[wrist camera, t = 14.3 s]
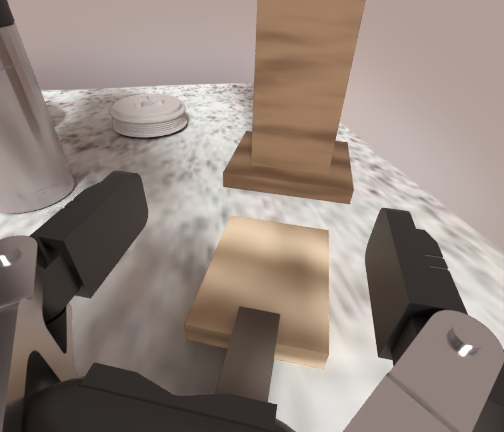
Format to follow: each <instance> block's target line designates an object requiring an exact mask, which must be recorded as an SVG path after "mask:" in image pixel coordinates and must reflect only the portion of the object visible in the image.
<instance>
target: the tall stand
mask: <svg viewBox="0 0 504 432" xmlns="http://www.w3.org/2000/svg"><path fill="white" fill-rule="evenodd" d="M365 1H366V0H258V1H257V24H256V50H255V53H256V54H255V77H254V103H253V129H252V132H250V131H246V132H245V134H244V136H243V138H242V140H241V141H240V143H239V145H238V147H237V149H236V150H235V152H234V154H233V156H232V158H231V159H230V161H229V163H228V165H227V167H226V169H225V170H224V172H223V187H230V188H237V189H245V190H252V191H259V192H267V193H274V194H281V195H288V196H296V197H303V198H310V199H317V200H325V201H332V202H339V203H347V204H350V201H351V198H352V194H353V191H354V189H353V181H352V174H351V166H350V158H349V150H348V143H347V142H340V141H335V140H336V135H337V130H338V126H339V121H340V117H341V111H342V107H343V103H344V98H345V93H346V89H347V84H348V80H349V75H350V70H351V65H352V61H353V56H354V51H355V47H356V42H357V38H358V33H359V29H360V24H361V19H362V15H363V10H364V5H365Z"/></svg>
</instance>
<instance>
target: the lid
mask: <svg viewBox="0 0 504 432" xmlns="http://www.w3.org/2000/svg"><path fill="white" fill-rule="evenodd" d="M185 111H186V106H185V104H184V103H182V102H181V101H180V100H179V99H177V98H175V97H172V96H169V95H163V94H140V95H133V96H129V97H125V98H122V99H120V100H118V101H116V102H115V103H114V104H113V106H112V107H110V109H109V114H110V116H111V117H112V119H113V123H112V126H113V129H114V130H115V131H116V132H118V133H120V134H123V135H126V136H132V137H156V136H163V135H167V134H171V133H174V132H176V131H179V130H181V129H182V128H184V127H185V126H186V124H187V118H186V117H185Z"/></svg>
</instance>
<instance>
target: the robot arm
mask: <svg viewBox="0 0 504 432" xmlns="http://www.w3.org/2000/svg"><path fill="white" fill-rule="evenodd" d="M74 185H75V184H74V179H73V176H72V173H71V171H70V168H69V165H68V163H67V160H66V157H65V155H64V152H63V149H62V146H61V144H60V141H59V138H58V136H57V133H56V130H55V128H54V125H53V122H52V120H51V117H50V114H49V112H48V109H47V106H46V104H45V101H44V98H43V96H42V93H41V90H40V88H39V85H38V82H37V80H36V77H35V74H34V72H33V69H32V66H31V64H30V61H29V58H28V56H27V53H26V51H25V48H24V45H23V43H22V40H21V37H20V35H19V32H18V30H17V27H16V24H15V23H14V18H13V16H12V13H11V11H10V8H9V5H8V2H7V0H0V213H8V214H11V213H23V212H29V211H34V210H38V209H41V208H44V207H47V206H49V205H52V204H54V203H56V202H58V201H59V200H61V199H63V198H64V197H65V196H67V195H68V194H69V193H70V192H71V191H72V189H73V187H74ZM147 219H148V207H147V203H146V198H145V194H144V189H143V184H142V180H141V177H140V175H139V174H137V173H131V172H124V171H113V172H112V173H111V174H109V175H108V176H107V177H106V178H105V179H104V180H103V181H101V182H100V183H97V184H95V185H93V186H91V187H89V188H87V189H85V190H83V191H82V192H81V193H80V194H79V195H77V196H76V197H75V198H74V200H73V201H70V202H69V203H68V204H67V205H66V206H65V208H64V209H63V208H62V209H61V210H60V211H59V212H57V213H56V214H55V215H54V216H53V217H51V218H50V219H49V220H48V221H47V222H46V223H44V224H43V225H42V226H41V227H40V228H38V229H37V230H36V231H35V232H34V233H33V234H31V235H30V236H12V237H7V238H4V239H1V240H0V432H295V431H294V430H293V429H291V428H290V427H289V426H287V425H286V424H285V423H283V422H281V421H279V420H278V419H276V410H277V404H272V403H268V402H264V401H259V400H255V399H251V398H246V397H242V396H238V395H233V394H213V395H196V396H176V395H173V394H171V393H170V392H168V391H167V390H165V389H163V388H162V387H160V386H158V385H157V384H155V383H153V382H152V381H150V380H148V379H147V378H145V377H143V376H142V375H140V374H138V373H137V372H133V371H129V370H124V369H120V368H115V367H111V366H107V365H102V364H98V363H93V365H92V366H91V368H90V370H89V371H88V373H87V375H86V376H84V377H78V375H77V372H76V370H75V366H74V360H73V331H72V307H71V305H70V303H69V302H70V300H71V299H72V298H73V297H74V295H76V296H81V297H86V298H91V297H92V296H93V295H94V293H95V292H96V291H97V289H98V288H99V287H100V285H101V284H102V283H103V281H104V280H105V279H106V277H107V276H108V275H109V273H110V272H111V271H112V269H113V268H114V267H115V265H116V264H117V263H118V261H119V260H120V259H121V257H122V256H123V255H124V253H125V252H126V251H127V249H128V248H129V247H130V245H131V244H132V243H133V241H134V240H135V239H136V237H137V236H138V235H139V234H140V232H141V231H142V230H143V228H144V227H145V225H146V223H147ZM365 265H366V272H367V280H368V287H369V294H370V301H371V309H372V316H373V323H374V330H375V338H376V345H377V352H378V357H380V358H385V359H390V360H393V366H394V367H393V368H392V370H391V371H390V372H389V373H387V375H386V376H385V377H384V378H383V380H382V381H381V382H380V383H379V385H378V386H377V387H376V389H375V390H374V391H373V393H372V394H371V395H370V397H369V398H368V399H367V401H366V402H365V403H364V404H363V406H362V407H361V408H360V410H359V411H358V412H357V414H356V415H355V416H354V418H353V419H352V420H351V422H350V423H349V424H348V426H347V427H346V428H345V430H344V431H343V432H504V350H503V348H502V346H501V344H500V342H499V340H498V339H497V338H496V336H495V335H494V334H493V333H492V332H491V331H490V330H489V329H488V328H487V327H486V326H485V325H484V324H482V323H481V322H479V321H478V320H476V319H475V318H473V317H471V316H469V315H468V314H467V311H466V309H465V307H464V304H463V302H462V300H461V297H460V295H459V293H458V290H457V288H456V286H455V283H454V281H453V279H452V276H451V274H450V272H449V271H448V270H447V269H448V267H447V265H446V262H445V260H444V259H443V255H442V253H441V250H440V248H439V246H438V243H437V242H436V241H435V240H434V239H433V238H432V237H431V236H430V235H429V234H428V233H427V232H426V231H425V230H421V229H416V227H415V225H414V222H413V219H412V217H411V214H410V212H409V211H404V210H396V209H389V208H382V209H381V210H380V212H379V214H378V217H377V220H376V222H375V225H374V228H373V230H372V233H371V236H370V239H369V241H368V244H367V248H366V254H365Z"/></svg>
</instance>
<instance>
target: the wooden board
mask: <svg viewBox="0 0 504 432" xmlns="http://www.w3.org/2000/svg"><path fill="white" fill-rule="evenodd" d="M184 327H185V332H186V338H187V340H189V341H193V342H198V343H203V344H207V345H212V346H217V347H222V348H226V349H227V352H226V356H225V359H224V363H223V367H222V370H221V374H220V377H219V381H218V385H217V388H216V392H215V394H233V395H238V396H242V397H246V398H251V399H255V400H259V401H264V402H268V395H269V388H270V381H271V374H272V368H273V361H274V359H278V360H283V361H287V362H292V363H297V364H301V365H306V366H311V367H315V368H320V369H324V366H325V363H326V361H327V358H328V355H329V230H323V229H316V228H310V227H303V226H296V225H290V224H283V223H277V222H270V221H264V220H257V219H250V218H244V217H237V216H230V218H229V221H228V223H227V225H226V228H225V230H224V232H223V235H222V237H221V240H220V242H219V244H218V247H217V249H216V251H215V254H214V256H213V258H212V261H211V263H210V265H209V268H208V270H207V272H206V275H205V277H204V279H203V282H202V284H201V286H200V289H199V291H198V293H197V296H196V298H195V300H194V303H193V305H192V307H191V310H190V312H189V314H188V317H187V319H186V321H185V324H184Z"/></svg>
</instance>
